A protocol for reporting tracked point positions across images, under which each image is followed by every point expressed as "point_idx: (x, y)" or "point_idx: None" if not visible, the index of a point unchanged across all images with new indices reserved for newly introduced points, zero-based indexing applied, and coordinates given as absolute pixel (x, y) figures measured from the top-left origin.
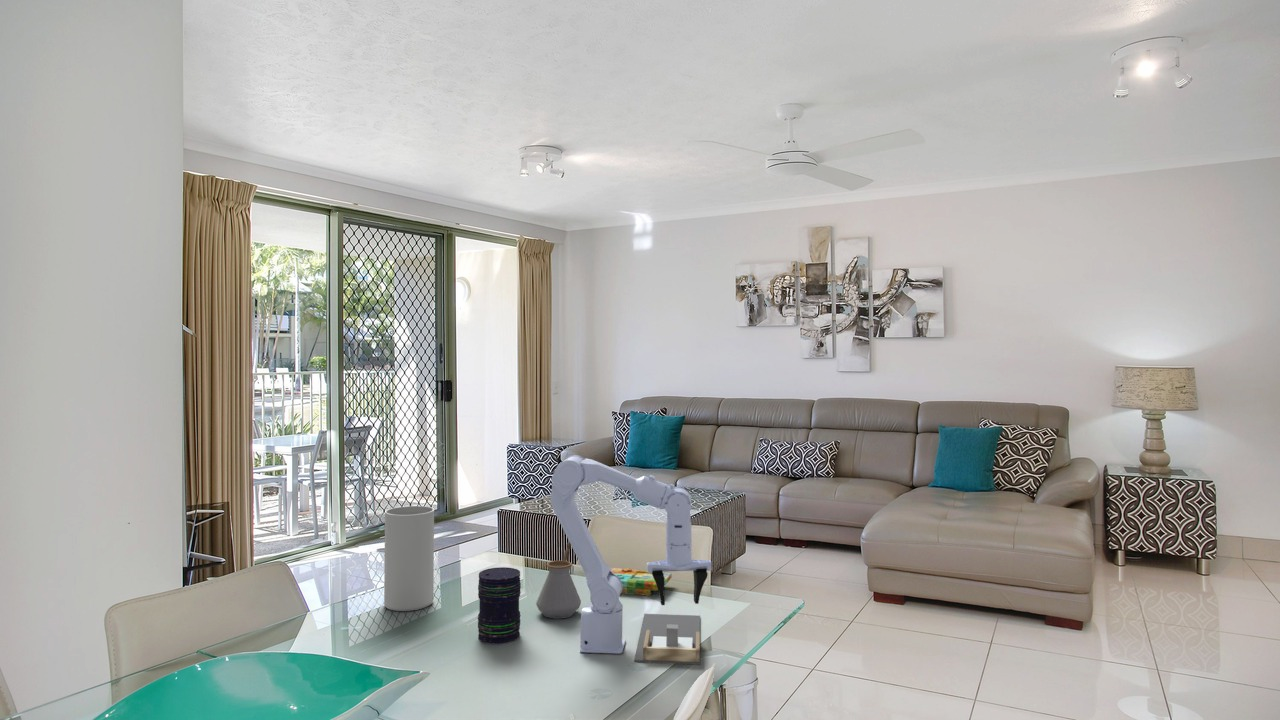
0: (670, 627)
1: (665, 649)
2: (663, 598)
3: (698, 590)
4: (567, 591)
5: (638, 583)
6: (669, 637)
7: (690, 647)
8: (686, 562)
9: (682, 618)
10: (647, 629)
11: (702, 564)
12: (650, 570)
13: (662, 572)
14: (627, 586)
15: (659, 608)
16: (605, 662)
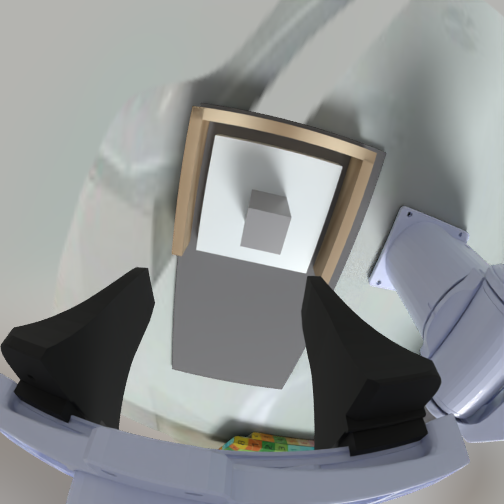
0: (274, 222)
1: (307, 130)
2: (322, 291)
3: (102, 298)
4: (426, 412)
5: (270, 448)
6: (278, 204)
7: (212, 178)
8: (90, 502)
9: (208, 365)
10: (298, 330)
11: (9, 422)
12: (446, 432)
13: (353, 438)
14: (286, 445)
15: (245, 403)
16: (442, 168)
